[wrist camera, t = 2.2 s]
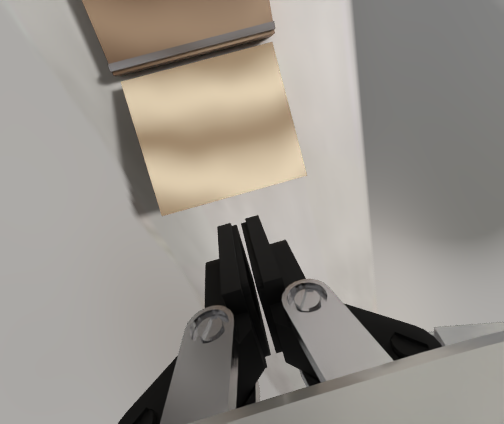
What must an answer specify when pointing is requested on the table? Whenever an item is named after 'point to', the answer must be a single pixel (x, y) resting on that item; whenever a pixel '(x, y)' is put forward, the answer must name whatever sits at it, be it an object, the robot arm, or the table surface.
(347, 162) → the table surface
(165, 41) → the walnut board
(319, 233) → the table surface
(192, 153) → the oak plank
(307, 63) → the table surface
